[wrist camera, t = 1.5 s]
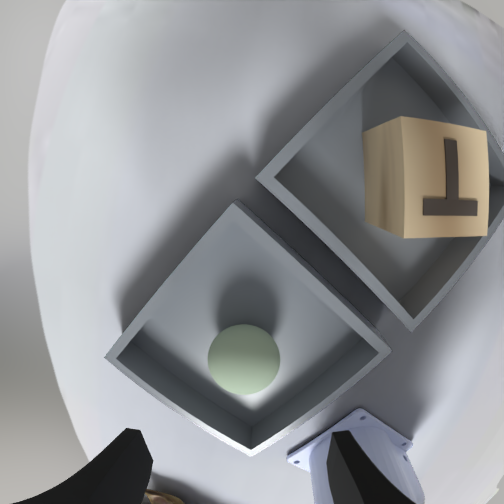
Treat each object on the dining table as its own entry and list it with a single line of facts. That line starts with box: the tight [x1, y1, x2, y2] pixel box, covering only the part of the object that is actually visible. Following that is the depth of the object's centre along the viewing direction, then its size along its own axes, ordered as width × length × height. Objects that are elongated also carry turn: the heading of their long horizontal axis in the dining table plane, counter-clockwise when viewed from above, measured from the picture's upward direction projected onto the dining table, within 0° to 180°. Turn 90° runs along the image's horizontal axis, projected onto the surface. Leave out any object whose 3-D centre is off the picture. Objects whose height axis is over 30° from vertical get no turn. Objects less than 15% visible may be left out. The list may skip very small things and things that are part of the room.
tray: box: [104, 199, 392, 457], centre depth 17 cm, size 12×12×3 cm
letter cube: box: [362, 116, 489, 238], centre depth 13 cm, size 5×5×5 cm
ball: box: [207, 324, 280, 395], centre depth 16 cm, size 4×4×4 cm
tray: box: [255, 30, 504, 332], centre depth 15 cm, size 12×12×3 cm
